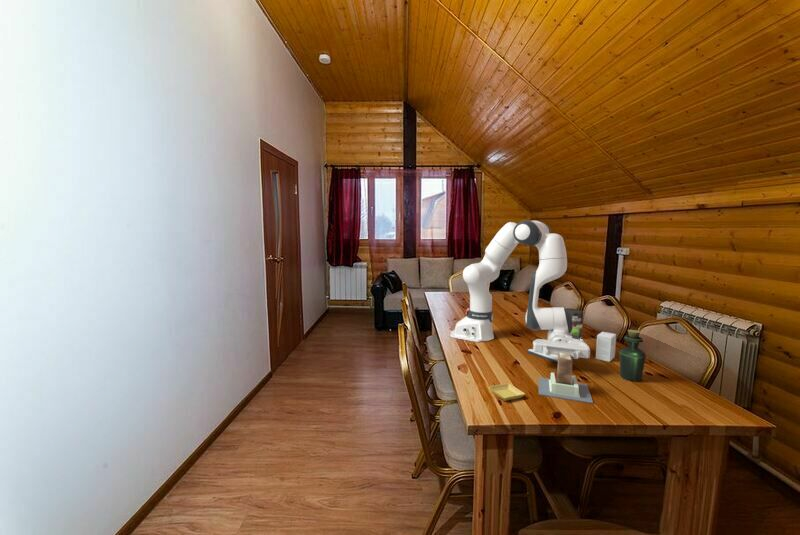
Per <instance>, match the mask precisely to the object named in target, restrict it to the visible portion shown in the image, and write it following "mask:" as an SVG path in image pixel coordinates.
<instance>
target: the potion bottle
mask: <svg viewBox="0 0 800 535" xmlns="http://www.w3.org/2000/svg"><path fill="white" fill-rule="evenodd" d="M640 335H641V331H640V330H636V329H627V335H626V334H625V336H624V337H623V339H624V341H626V342H627V343H626V344H627V346H625V347H622V348H621V349H620V350H619V351H618V354H619V375H620V377H621V378H622V379H624V380H626V381H629V382H640V381H642V379H643V374H644V369H645V362H646V358H647V355H646V353H645V352H644V351H643V350H641V349H640V348H639V344H640V343H643V342H644V340H643V338H642V337H641V336H640Z"/></svg>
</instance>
